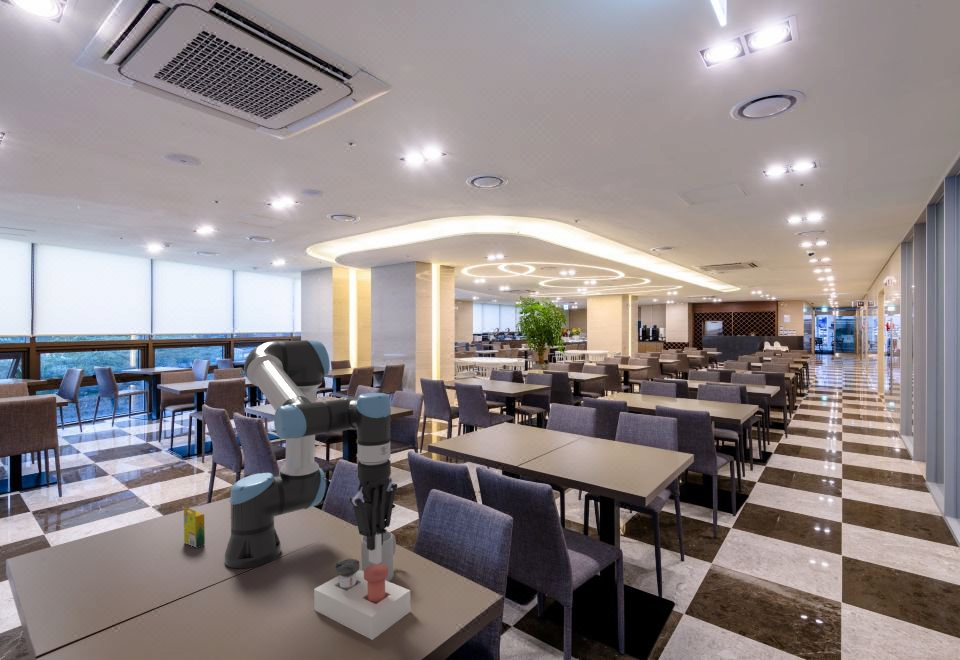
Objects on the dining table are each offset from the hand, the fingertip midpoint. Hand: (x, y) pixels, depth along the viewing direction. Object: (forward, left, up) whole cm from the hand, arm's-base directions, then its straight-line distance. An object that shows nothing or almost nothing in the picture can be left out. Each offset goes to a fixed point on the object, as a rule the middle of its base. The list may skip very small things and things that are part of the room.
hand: (375, 561), depth 107 cm
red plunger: (0, 0, -11) cm, 11 cm away
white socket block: (-5, 0, -13) cm, 14 cm away
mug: (-13, +14, -13) cm, 23 cm away
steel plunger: (-10, 0, -13) cm, 16 cm away
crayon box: (-78, -5, -13) cm, 79 cm away
